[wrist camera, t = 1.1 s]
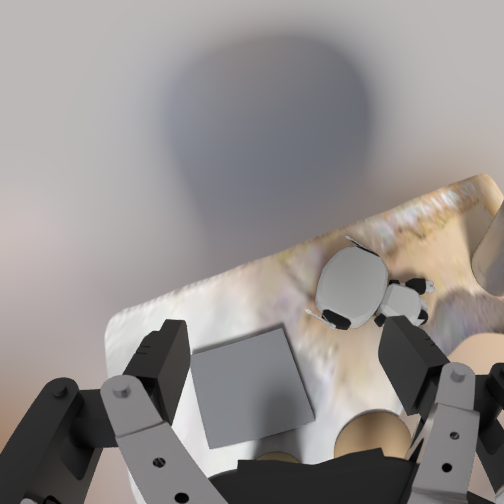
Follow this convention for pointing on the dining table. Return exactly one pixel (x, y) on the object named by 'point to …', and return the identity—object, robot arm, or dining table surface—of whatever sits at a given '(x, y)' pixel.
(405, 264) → the dining table surface
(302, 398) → the slate tile
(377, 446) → the cork coaster
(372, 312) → the robot toy
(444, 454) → the robot arm
